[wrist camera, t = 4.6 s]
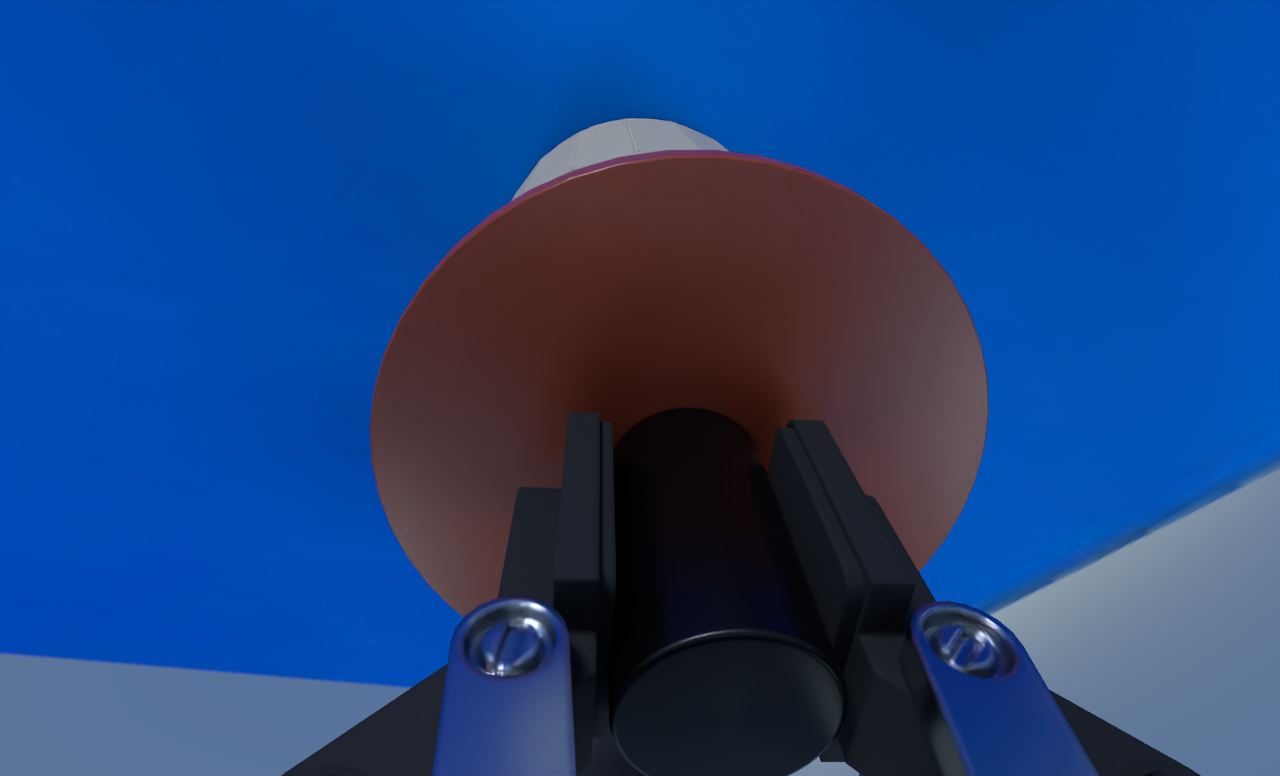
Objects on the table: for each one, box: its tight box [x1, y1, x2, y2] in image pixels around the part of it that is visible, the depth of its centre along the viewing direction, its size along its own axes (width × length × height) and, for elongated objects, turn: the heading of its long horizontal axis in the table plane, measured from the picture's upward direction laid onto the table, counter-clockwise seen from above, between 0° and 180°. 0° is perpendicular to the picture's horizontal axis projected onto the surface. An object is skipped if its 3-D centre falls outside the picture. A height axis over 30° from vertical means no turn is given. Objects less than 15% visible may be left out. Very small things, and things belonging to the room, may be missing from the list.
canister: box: [512, 118, 728, 200], centre depth 22 cm, size 10×10×10 cm
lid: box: [370, 150, 988, 776], centre depth 11 cm, size 11×11×6 cm
